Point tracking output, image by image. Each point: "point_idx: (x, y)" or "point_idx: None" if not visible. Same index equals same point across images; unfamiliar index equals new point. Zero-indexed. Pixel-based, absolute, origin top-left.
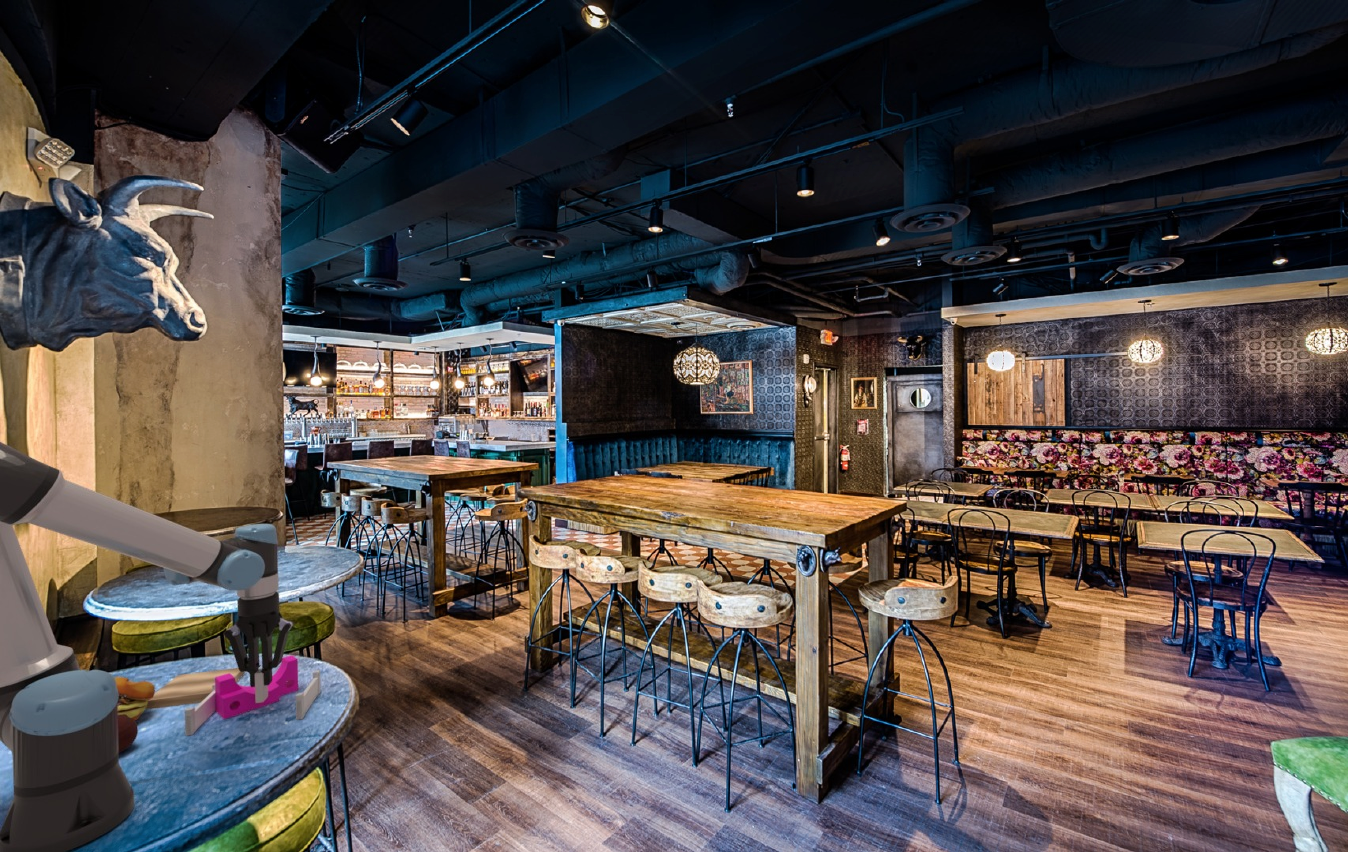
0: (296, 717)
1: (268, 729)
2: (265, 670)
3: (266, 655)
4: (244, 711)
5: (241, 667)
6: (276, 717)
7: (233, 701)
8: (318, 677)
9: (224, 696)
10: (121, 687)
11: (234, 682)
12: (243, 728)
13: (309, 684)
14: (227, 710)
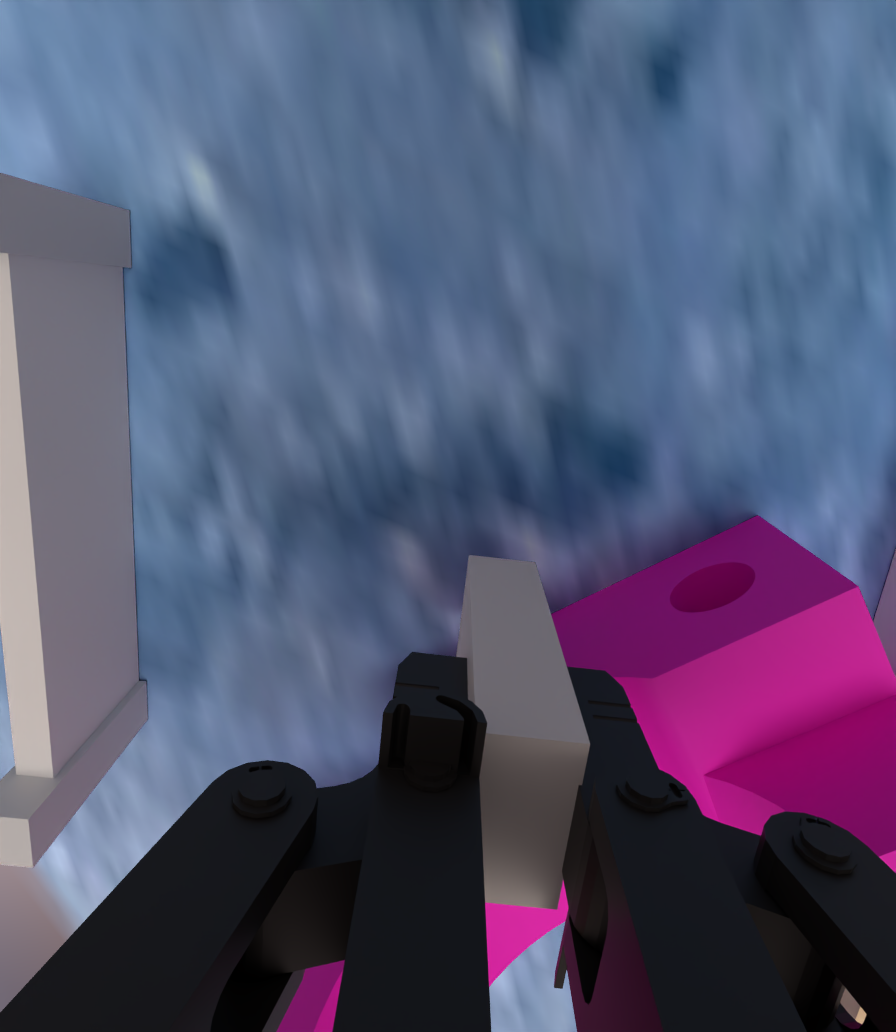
0: (115, 208)
1: (327, 97)
2: (411, 713)
3: (374, 1028)
4: (621, 585)
5: (851, 880)
6: (326, 351)
7: (739, 597)
8: (13, 773)
9: (853, 644)
10: None
11: (818, 813)
12: (559, 234)
13: (37, 627)
14: (758, 550)
